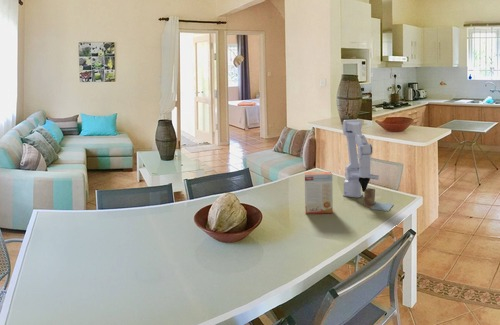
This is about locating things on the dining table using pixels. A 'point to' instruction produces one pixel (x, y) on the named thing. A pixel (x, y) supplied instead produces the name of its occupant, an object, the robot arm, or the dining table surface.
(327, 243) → the dining table surface
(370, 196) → the brown wooden block
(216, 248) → the dining table surface
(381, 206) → the mat
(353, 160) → the robot arm
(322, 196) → the cracker box
